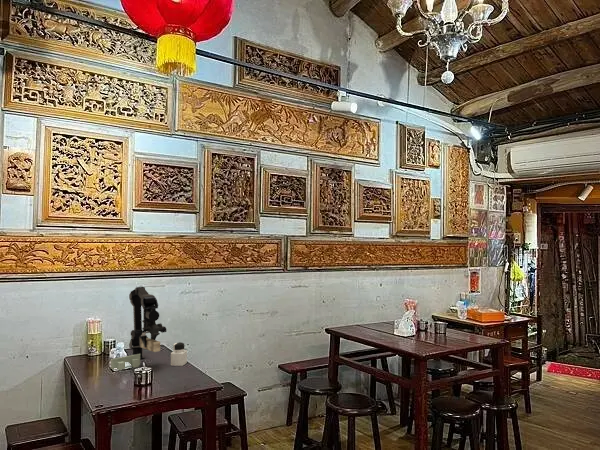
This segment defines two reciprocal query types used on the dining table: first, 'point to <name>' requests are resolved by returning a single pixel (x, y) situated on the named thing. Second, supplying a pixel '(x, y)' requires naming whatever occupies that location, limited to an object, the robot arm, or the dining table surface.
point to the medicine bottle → (178, 355)
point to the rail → (150, 344)
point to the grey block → (120, 361)
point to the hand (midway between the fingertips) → (148, 346)
